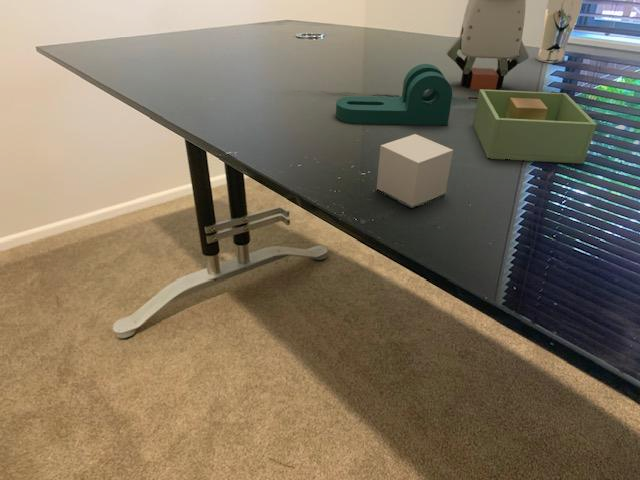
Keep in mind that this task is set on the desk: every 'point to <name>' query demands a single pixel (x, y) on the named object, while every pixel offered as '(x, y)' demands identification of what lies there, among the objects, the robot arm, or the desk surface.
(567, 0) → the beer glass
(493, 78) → the terracotta block
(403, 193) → the white cube
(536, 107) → the maple block
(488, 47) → the robot arm
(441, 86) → the bracket
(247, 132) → the desk surface
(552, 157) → the basket
